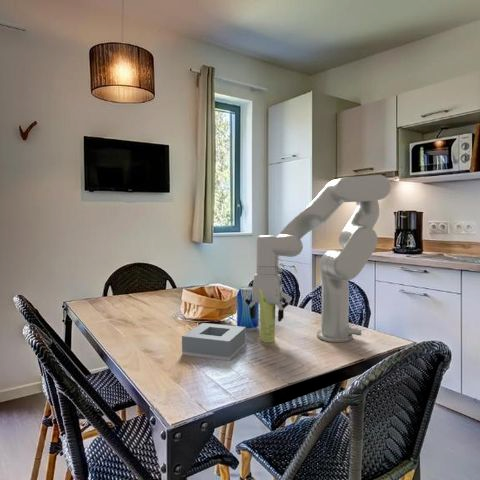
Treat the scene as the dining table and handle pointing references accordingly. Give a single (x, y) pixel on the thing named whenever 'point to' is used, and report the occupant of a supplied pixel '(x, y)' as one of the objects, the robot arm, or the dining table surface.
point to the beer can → (246, 311)
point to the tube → (267, 319)
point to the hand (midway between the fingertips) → (266, 319)
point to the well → (214, 341)
